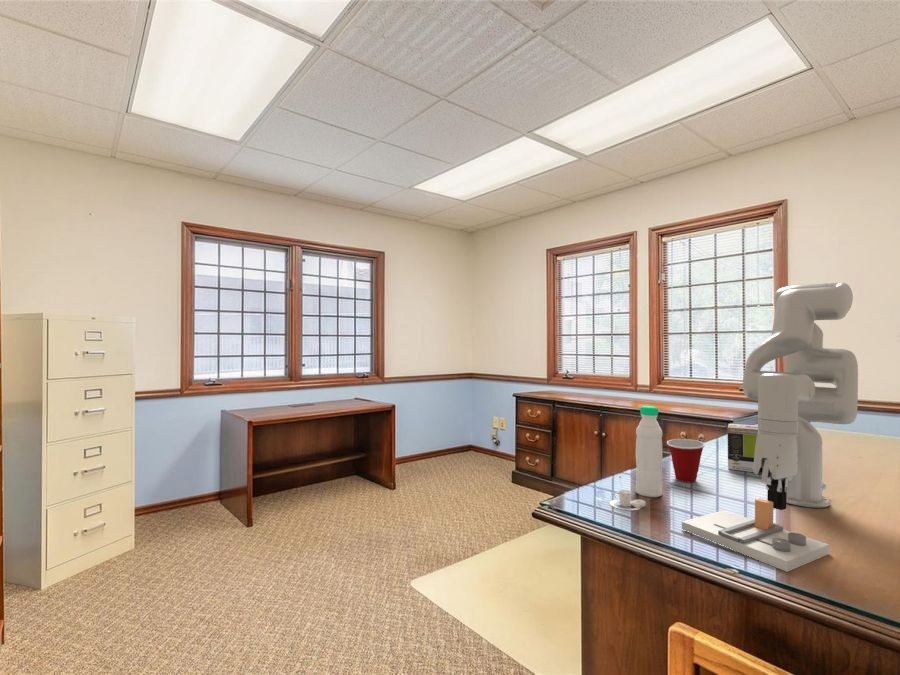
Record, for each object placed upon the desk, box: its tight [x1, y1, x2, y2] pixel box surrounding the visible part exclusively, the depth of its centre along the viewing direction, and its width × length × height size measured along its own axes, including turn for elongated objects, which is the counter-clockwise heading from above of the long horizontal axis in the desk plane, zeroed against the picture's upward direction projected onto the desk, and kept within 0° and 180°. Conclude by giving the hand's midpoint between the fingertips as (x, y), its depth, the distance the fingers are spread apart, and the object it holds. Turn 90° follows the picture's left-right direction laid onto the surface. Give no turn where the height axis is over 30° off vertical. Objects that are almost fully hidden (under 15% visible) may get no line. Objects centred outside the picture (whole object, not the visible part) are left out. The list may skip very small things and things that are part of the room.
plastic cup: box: [666, 438, 705, 483], centre depth 148 cm, size 11×11×12 cm
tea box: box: [727, 423, 759, 473], centre depth 161 cm, size 15×10×15 cm
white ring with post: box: [609, 489, 647, 511], centre depth 125 cm, size 9×8×4 cm
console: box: [681, 509, 830, 573], centre depth 103 cm, size 16×22×4 cm
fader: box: [754, 497, 774, 530], centre depth 105 cm, size 2×3×6 cm
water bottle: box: [635, 405, 663, 498], centre depth 134 cm, size 7×7×25 cm
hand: (776, 507), depth 107 cm, fingers closed
